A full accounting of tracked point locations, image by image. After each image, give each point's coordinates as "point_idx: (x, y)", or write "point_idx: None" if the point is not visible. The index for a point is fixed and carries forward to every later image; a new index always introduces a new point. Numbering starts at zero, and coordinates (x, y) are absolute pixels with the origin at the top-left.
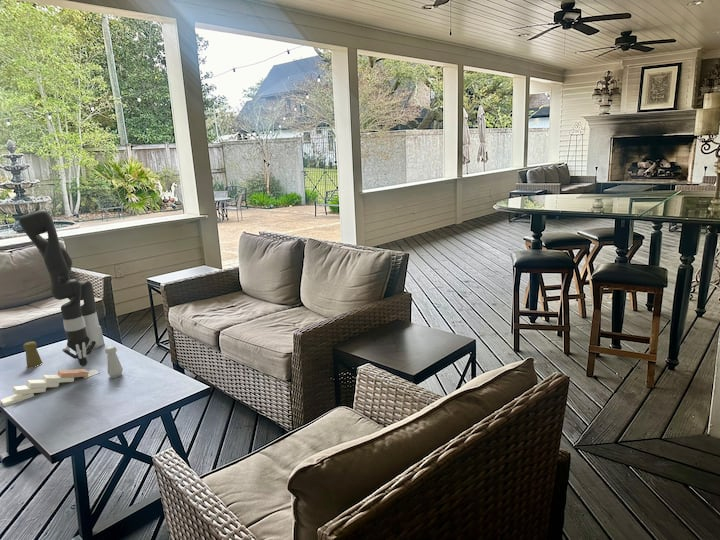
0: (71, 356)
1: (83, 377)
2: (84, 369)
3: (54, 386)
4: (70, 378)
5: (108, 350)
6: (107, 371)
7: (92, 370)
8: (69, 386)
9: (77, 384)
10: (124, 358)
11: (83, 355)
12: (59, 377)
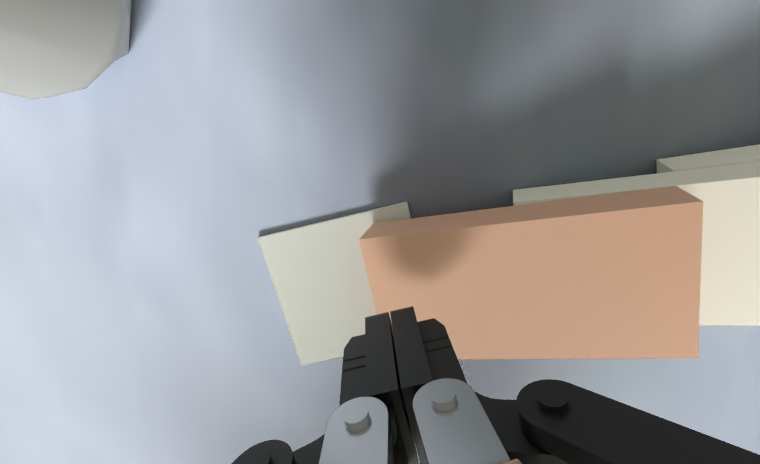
0: (672, 428)
1: None
2: None
3: (704, 152)
4: (553, 196)
5: None
6: (112, 11)
7: (320, 344)
8: (566, 92)
9: (490, 85)
10: (25, 443)
11: (379, 432)
12: None
